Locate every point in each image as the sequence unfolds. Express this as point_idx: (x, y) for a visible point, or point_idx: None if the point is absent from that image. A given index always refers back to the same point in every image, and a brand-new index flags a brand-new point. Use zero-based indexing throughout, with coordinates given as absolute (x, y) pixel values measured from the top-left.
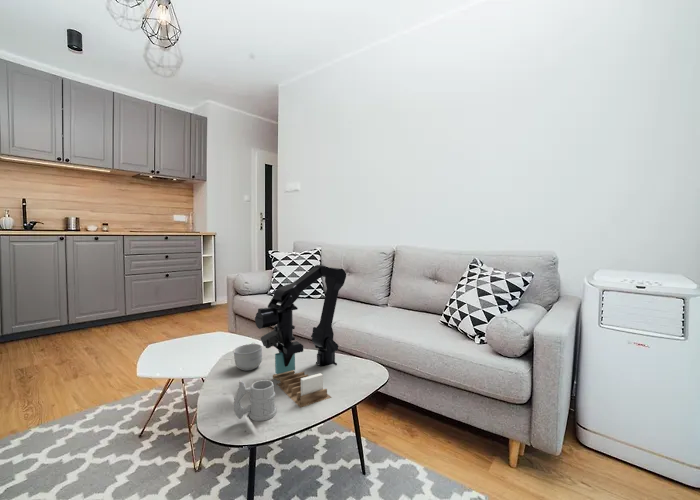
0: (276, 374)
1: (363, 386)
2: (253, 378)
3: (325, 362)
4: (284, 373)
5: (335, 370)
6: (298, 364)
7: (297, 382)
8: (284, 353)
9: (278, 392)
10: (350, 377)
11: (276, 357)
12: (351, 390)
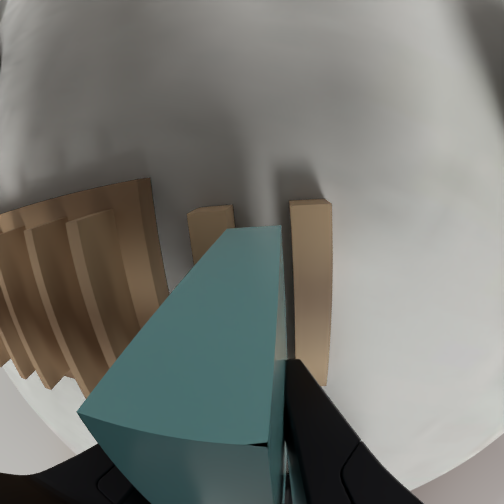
0: (319, 241)
1: (83, 451)
2: (411, 68)
3: (288, 497)
4: (295, 313)
5: None
6: (417, 414)
7: (8, 301)
8: (14, 483)
9: (80, 175)
10: None
11: (149, 355)
12: (61, 422)
